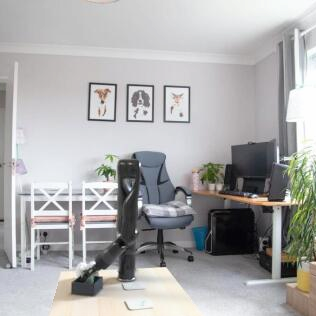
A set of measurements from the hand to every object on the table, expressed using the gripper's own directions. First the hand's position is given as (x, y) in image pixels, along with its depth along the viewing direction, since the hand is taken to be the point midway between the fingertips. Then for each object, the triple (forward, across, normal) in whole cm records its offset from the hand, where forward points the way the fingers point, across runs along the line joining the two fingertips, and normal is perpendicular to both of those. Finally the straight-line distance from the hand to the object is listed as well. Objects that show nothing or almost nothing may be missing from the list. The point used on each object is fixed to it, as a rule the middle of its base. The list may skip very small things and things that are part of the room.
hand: (84, 279), depth 170 cm
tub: (+3, 0, +5) cm, 6 cm away
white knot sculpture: (+8, -15, 0) cm, 17 cm away
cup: (+2, 0, +5) cm, 5 cm away
